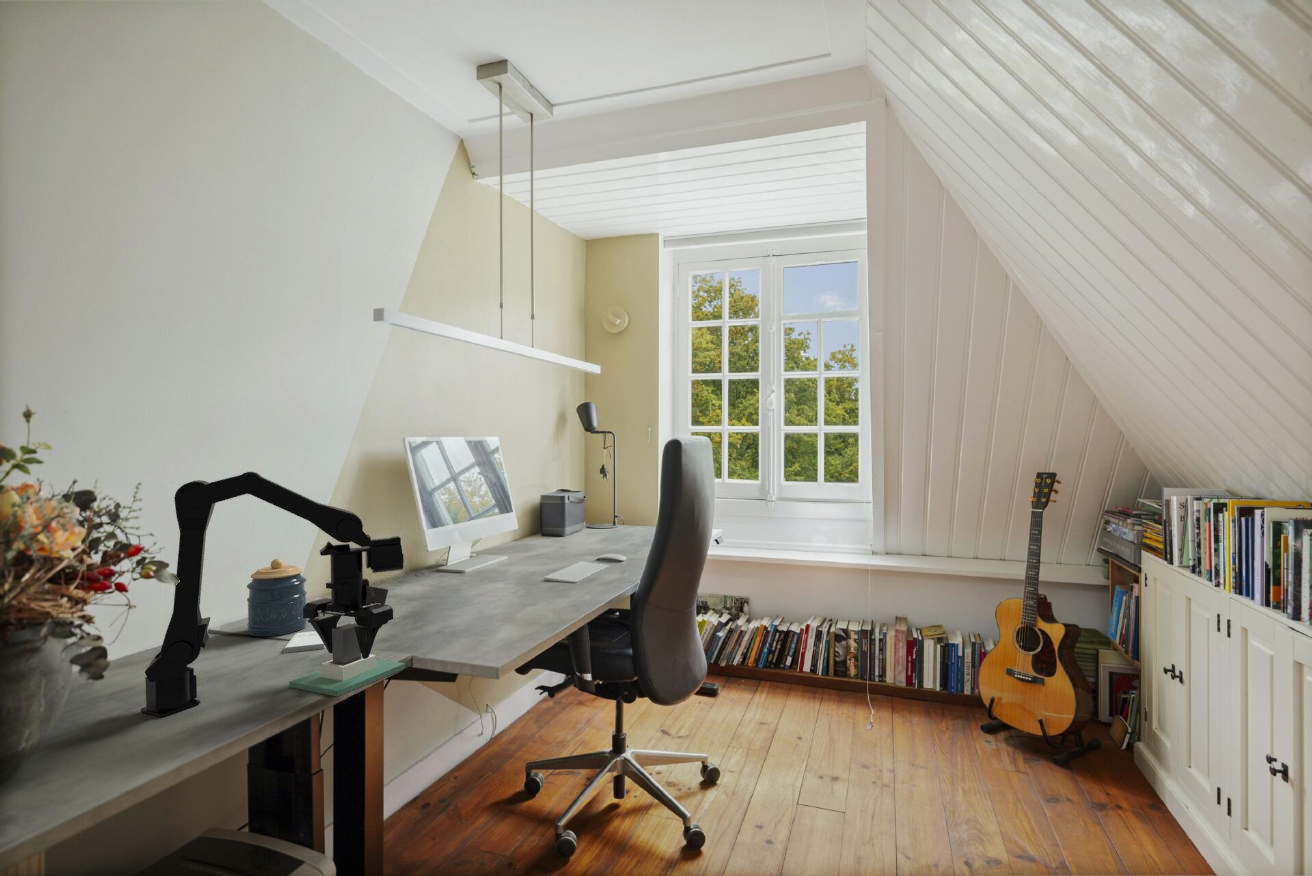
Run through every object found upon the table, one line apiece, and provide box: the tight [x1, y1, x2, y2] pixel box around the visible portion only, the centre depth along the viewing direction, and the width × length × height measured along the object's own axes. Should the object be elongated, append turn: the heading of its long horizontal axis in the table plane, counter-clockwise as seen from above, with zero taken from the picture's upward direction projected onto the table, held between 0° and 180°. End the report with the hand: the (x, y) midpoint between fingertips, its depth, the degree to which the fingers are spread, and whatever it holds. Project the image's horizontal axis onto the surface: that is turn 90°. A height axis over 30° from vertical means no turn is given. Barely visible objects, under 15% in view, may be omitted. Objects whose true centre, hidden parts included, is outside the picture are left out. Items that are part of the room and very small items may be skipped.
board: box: [289, 653, 406, 697], centre depth 132 cm, size 16×13×4 cm
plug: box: [332, 622, 361, 666], centre depth 132 cm, size 5×3×9 cm, turn 155°
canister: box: [246, 558, 308, 637], centre depth 168 cm, size 13×13×18 cm
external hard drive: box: [283, 630, 326, 654], centre depth 156 cm, size 2×8×12 cm
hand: (348, 655), depth 132 cm, fingers open, 9 cm apart
